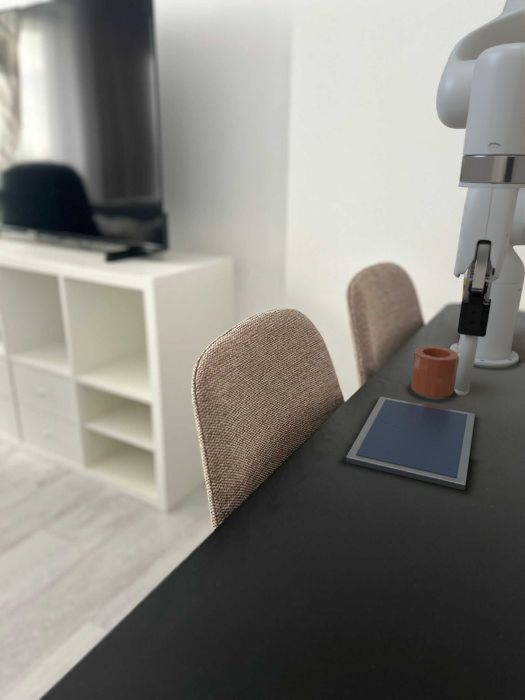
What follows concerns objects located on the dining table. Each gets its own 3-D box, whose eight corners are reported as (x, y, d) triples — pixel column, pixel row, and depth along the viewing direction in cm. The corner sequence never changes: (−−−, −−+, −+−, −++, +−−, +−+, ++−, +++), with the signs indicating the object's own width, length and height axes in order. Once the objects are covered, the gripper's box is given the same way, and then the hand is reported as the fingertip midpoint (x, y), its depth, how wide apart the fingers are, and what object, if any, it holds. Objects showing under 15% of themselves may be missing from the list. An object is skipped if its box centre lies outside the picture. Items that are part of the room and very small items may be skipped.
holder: (413, 381, 89) (418, 343, 86) (454, 388, 86) (460, 349, 84) (407, 396, 83) (411, 355, 81) (450, 404, 80) (457, 362, 78)
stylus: (454, 391, 67) (471, 283, 62) (468, 393, 66) (487, 285, 61) (452, 396, 66) (470, 286, 61) (467, 399, 65) (487, 288, 60)
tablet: (379, 400, 81) (380, 395, 81) (474, 418, 76) (475, 412, 76) (345, 462, 64) (345, 456, 64) (464, 490, 59) (465, 484, 58)
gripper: (465, 172, 65) (446, 312, 71) (453, 174, 51) (431, 347, 58) (531, 173, 62) (505, 319, 68) (537, 175, 48) (504, 357, 55)
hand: (472, 330), depth 63 cm, fingers closed on stylus, 1 cm apart
